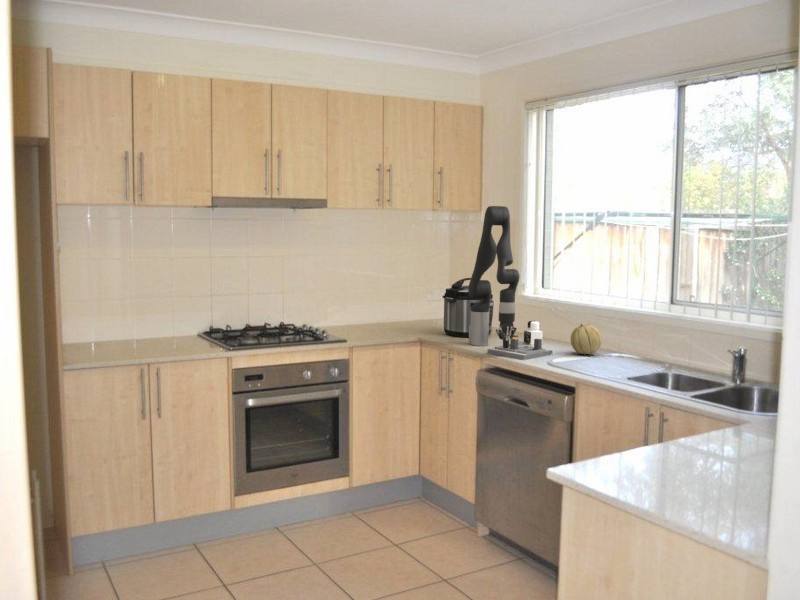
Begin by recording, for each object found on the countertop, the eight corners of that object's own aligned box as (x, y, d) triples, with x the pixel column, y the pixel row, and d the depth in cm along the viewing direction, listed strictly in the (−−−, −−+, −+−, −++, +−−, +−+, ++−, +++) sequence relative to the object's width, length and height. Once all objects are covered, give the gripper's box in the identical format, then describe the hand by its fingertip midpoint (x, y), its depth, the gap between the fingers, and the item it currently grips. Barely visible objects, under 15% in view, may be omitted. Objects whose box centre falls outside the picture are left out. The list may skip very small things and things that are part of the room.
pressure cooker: (446, 338, 405) (447, 279, 401) (436, 331, 433) (437, 275, 429) (500, 338, 409) (502, 280, 406) (487, 330, 437) (489, 276, 433)
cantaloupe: (607, 356, 361) (609, 324, 359) (584, 358, 354) (586, 326, 352) (586, 351, 374) (587, 321, 372) (563, 353, 367) (564, 322, 365)
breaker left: (510, 346, 371) (510, 335, 370) (513, 345, 373) (514, 334, 372) (514, 347, 368) (515, 336, 368) (518, 346, 370) (519, 335, 370)
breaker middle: (509, 350, 359) (509, 337, 359) (513, 349, 361) (513, 337, 361) (514, 351, 357) (514, 338, 356) (518, 350, 359) (518, 337, 358)
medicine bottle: (523, 343, 395) (524, 320, 393) (535, 342, 397) (536, 320, 396) (530, 345, 388) (531, 322, 387) (542, 344, 390) (543, 321, 389)
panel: (487, 353, 363) (487, 347, 363) (515, 348, 378) (516, 342, 378) (524, 359, 347) (524, 353, 347) (552, 354, 362) (552, 348, 362)
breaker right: (533, 350, 360) (533, 338, 360) (536, 349, 363) (537, 338, 362) (538, 351, 358) (538, 339, 358) (542, 350, 360) (542, 339, 360)
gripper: (509, 309, 360) (508, 345, 362) (491, 311, 351) (490, 348, 353) (522, 311, 355) (520, 347, 357) (504, 313, 346) (502, 350, 348)
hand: (505, 348), depth 355 cm, fingers closed
